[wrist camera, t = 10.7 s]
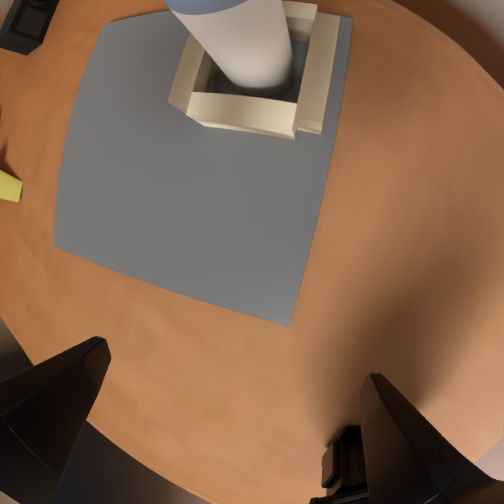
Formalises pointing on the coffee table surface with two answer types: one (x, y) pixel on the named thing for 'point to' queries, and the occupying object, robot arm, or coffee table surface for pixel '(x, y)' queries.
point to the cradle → (260, 109)
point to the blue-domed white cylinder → (243, 41)
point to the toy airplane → (10, 187)
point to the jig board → (190, 177)
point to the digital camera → (26, 25)
